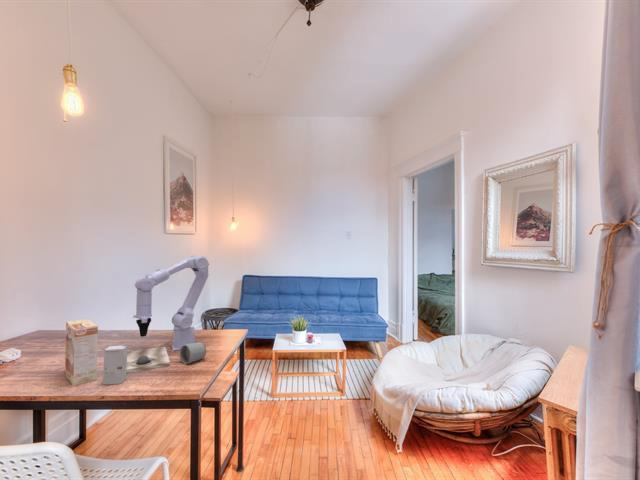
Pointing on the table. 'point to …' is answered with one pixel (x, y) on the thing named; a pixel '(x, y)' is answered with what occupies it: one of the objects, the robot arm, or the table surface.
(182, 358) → the ceramic mug
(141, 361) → the ball
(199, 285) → the robot arm
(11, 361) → the table surface
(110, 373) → the skincare box
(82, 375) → the coffeecake box
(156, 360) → the board
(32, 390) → the table surface
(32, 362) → the table surface
